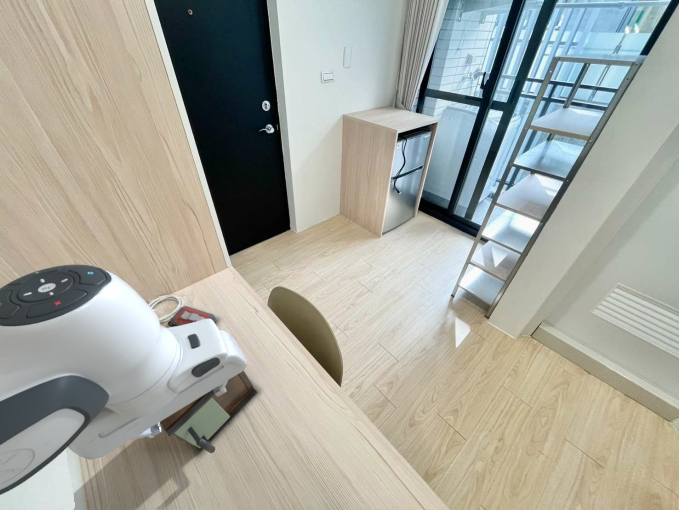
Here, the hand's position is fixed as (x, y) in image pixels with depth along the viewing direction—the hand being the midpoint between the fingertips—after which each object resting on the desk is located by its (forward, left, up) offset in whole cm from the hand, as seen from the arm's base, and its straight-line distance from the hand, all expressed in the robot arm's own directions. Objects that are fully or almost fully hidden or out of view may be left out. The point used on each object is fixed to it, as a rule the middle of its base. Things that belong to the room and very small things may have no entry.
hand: (190, 409), depth 42 cm
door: (-1, +4, -25) cm, 25 cm away
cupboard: (+2, +11, -26) cm, 29 cm away
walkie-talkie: (+11, +32, -26) cm, 43 cm away
